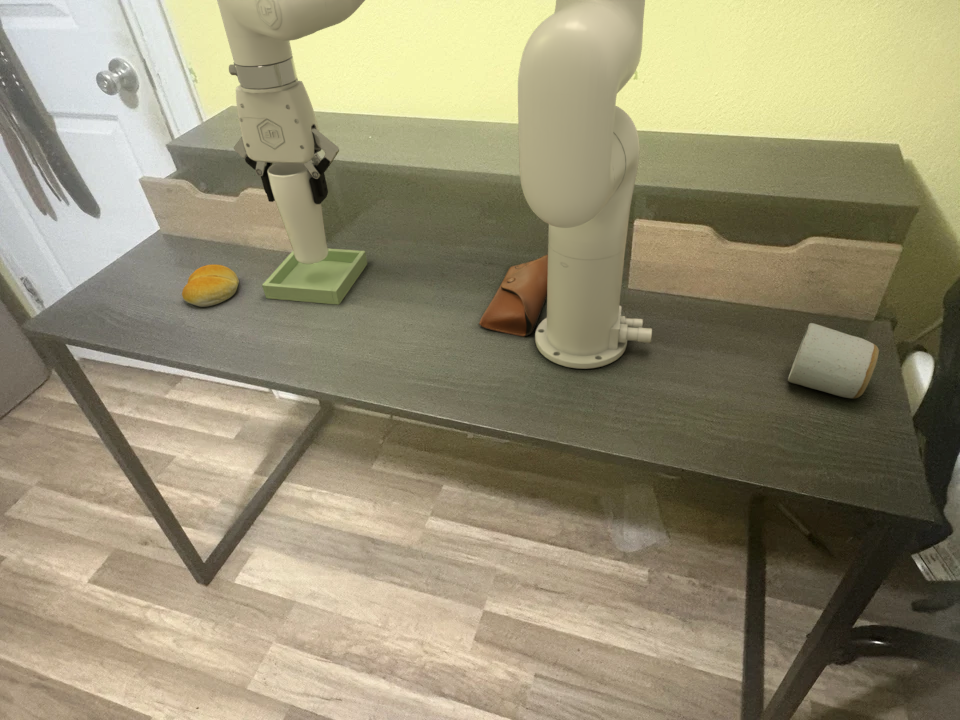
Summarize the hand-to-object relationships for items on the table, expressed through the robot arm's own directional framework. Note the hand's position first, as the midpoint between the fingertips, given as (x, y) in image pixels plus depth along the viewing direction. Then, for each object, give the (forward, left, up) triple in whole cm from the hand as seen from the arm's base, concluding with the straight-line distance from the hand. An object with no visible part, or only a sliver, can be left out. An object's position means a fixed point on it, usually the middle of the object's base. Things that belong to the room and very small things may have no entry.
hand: (298, 198), depth 95 cm
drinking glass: (0, 0, -10) cm, 10 cm away
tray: (0, 0, -15) cm, 15 cm away
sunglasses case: (-34, +1, -15) cm, 37 cm away
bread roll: (+16, +6, -15) cm, 23 cm away
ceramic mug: (-75, +13, -15) cm, 77 cm away
